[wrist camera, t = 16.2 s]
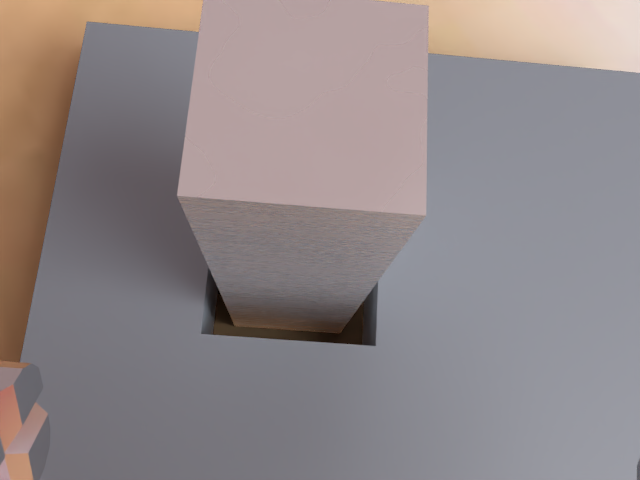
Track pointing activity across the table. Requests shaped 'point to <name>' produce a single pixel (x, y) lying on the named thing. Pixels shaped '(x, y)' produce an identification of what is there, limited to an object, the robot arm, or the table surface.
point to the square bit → (305, 153)
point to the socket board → (379, 306)
